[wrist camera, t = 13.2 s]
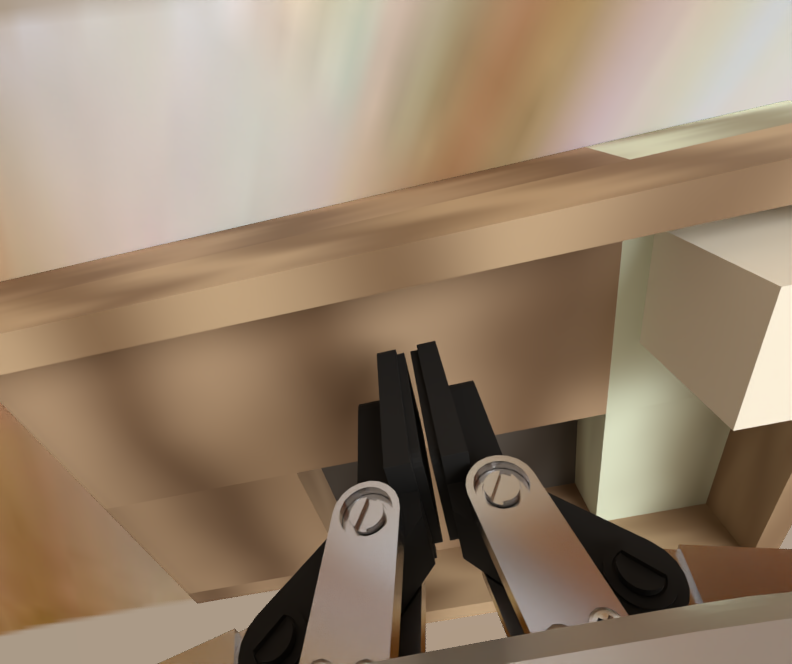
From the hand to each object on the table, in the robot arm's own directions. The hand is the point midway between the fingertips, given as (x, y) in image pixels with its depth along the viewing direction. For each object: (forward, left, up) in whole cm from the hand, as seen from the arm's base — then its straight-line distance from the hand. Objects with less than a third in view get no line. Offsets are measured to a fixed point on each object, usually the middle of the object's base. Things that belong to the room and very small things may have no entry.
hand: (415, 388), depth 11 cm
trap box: (0, -4, -4) cm, 6 cm away
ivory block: (+9, +1, -2) cm, 10 cm away
